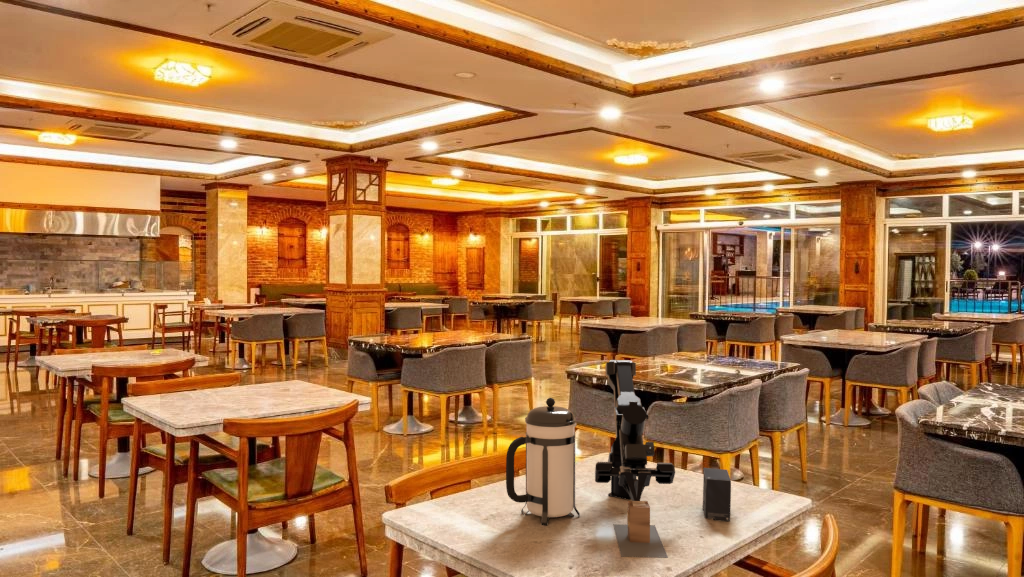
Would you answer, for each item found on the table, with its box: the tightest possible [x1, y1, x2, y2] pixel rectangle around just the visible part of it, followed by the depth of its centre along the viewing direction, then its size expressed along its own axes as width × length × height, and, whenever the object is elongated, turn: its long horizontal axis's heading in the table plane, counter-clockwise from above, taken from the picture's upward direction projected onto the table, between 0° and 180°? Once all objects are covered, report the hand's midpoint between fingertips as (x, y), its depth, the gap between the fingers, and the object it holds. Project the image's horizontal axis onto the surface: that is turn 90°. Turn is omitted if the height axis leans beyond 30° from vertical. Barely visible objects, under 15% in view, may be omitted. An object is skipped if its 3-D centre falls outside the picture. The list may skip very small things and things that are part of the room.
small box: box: [701, 467, 732, 522], centre depth 181 cm, size 11×6×10 cm, turn 168°
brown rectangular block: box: [626, 500, 651, 543], centre depth 163 cm, size 5×5×8 cm
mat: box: [613, 523, 669, 559], centre depth 162 cm, size 20×10×1 cm, turn 177°
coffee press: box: [505, 397, 581, 527], centre depth 178 cm, size 17×16×30 cm
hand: (637, 505), depth 165 cm, fingers closed
